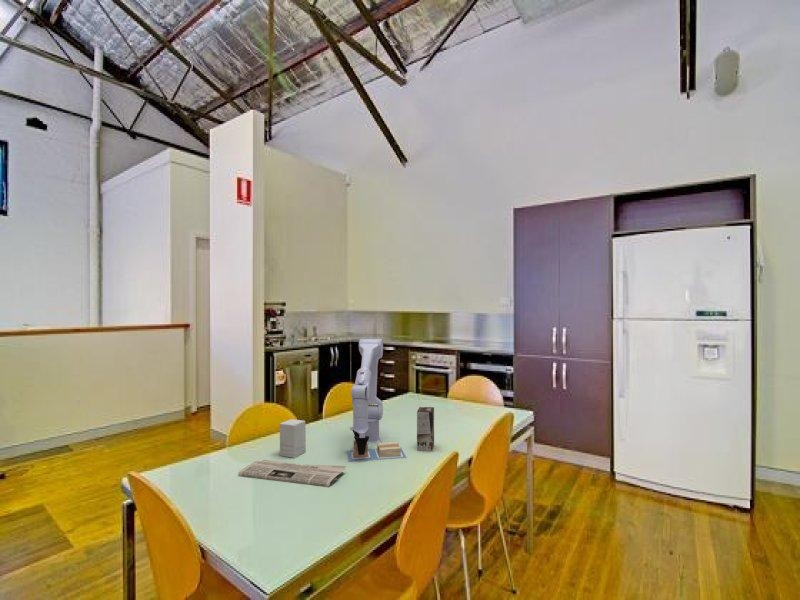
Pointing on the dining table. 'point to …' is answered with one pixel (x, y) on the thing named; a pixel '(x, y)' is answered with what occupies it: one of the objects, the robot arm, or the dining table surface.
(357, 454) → the top block
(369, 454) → the blueprint board
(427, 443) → the coffee box
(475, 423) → the dining table surface
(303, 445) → the supplement box
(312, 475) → the newspaper
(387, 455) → the base block
